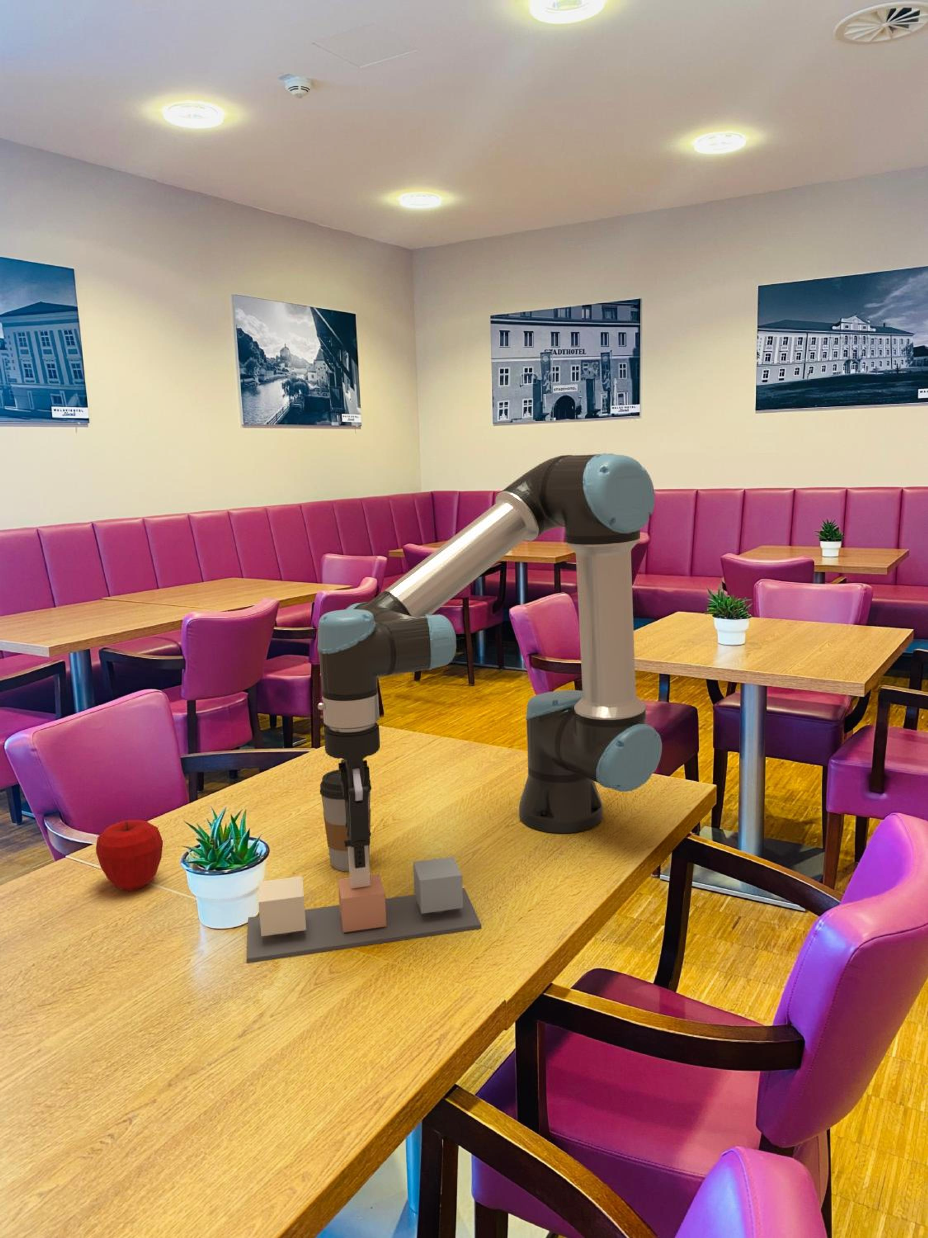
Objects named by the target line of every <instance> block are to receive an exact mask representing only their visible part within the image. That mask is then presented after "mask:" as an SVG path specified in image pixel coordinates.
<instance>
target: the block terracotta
mask: <svg viewBox="0 0 928 1238" xmlns="http://www.w3.org/2000/svg"><path fill="white" fill-rule="evenodd" d="M337 884H338V885H337V888H338V902H339V903H338V905H339V906H340V915H341V921H342V927H343V932H350V931H357V930H364V929H371V928H378V927H385V926H386V907H385V899H386V892H385V889H384V886H383V882H382V878H381V874H380V873H373V874H370V886H366V887H359V888H351V886H350V877H344V878H337Z"/></svg>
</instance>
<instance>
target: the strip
mask: <svg viewBox="0 0 928 1238" xmlns="http://www.w3.org/2000/svg"><path fill="white" fill-rule="evenodd" d="M462 890H463V908H458V909H451V910H444V911H437V912H430V913H423V914H421V911H420V908H419V905H418V902H417V899H416V896H415V894H409V895H403V896H394V897H388V898H386V897H385V907H386V926H385V927H378V928H371V929H364V930H357V931H350V932H343V927H342V921H341V915H340V906H339V904H337V905H329V906H321V907H314V908H305V920H306V930H303V931H296V932H289V933H282V934H274V935H267V936H261V927H260V915H257V916H255V915H254V916H250V917H248V918H247V936H246V937H247V940H246V941H247V942H246V944H247V945H246V963H247V964H250V963H253V962H262V961H263V962H264V961H269V960H276V959H282V958H288V957H289V958H290V957H296V956H303V955H309V954H316V953H323V952H329V951H336V950H344V949H349V948H357V947H363V946H370V945H377V944H383V943H391V942H398V941H405V940H411V939H417V938H418V939H419V938H424V937H432V936H438V935H447V934H452V933H458V932H459V933H460V932H465V931H471V930H479V929H482V923H481V921H480V918H479V917H478V914H477V913H476V910H475V908H474V906H473V904H472V901H471V899H470V896H469V895H468V893H467V891H466V888H465V887H462Z"/></svg>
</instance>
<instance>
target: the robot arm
mask: <svg viewBox="0 0 928 1238" xmlns="http://www.w3.org/2000/svg"><path fill="white" fill-rule="evenodd" d="M655 493H656V492H655V487H654V484H653V480H652V478H651V476H650V474H649V473H648V471H647V469H646V467H644V466H643V465H641V464H640V462H639V461H638V460H637V459H634V458H633V457H632V456H628V455H624V454H615V453H606V452H604V453H598V454H597V453H596V454H581V455H580V454H579V455H577V454H563V455H559V456H554V457H551V458H549V459H546V460H544V461H543V462H542V463H539V464H538V465H535V467H533V468H531V469H530V470H528V471H526V473H524V474H522V475H521V476H520V477H518V478H517V479H516V480H514V481H512V483H510V484H509V485H508V486H506V487H505V488H504V489H502V490H501V491H500V492H499V493H498V494H497V495H496V497H495V504H494V505H492V506H491V507H489V508H488V509H487V510H486V511H484V512H483V513H482V514H481V515H480V516H478V517H477V518H475V519H474V520H473V521H472V522H471V523H469V524H467V526H465V527H464V528H463V529H461V530H460V531H459V532H457V534H455V535H453V536H452V537H451V538H450V539H449V540H448V541H446V542H445V543H444V544H442V545H441V546H440V547H439V548H437V549H435V551H433V552H431V554H429V555H428V556H427V557H425V559H423V560H422V561H421V562H420V563H418V564H417V565H416V566H414V567H413V568H412V569H410V570H409V571H408V572H407V573H405V574H404V575H403V576H401V577H400V578H399V579H398V580H396V581H395V582H394V583H393V584H391V585H390V586H389V587H387V588H386V589H385V590H383V591H382V592H381V593H380V594H378V595H377V596H376V597H375V598H373V599H371V600H370V601H369V602H366V601H364V602H357V603H354V604H351V605H349V606H348V607H347V608H346V609H340V610H337V609H336V610H333V611H332V610H331V611H329V612H326V613H324V614H322V616H321V617H320V618H319V620H318V626H317V627H318V630H317V652H318V659H319V660H318V661H319V670H320V671H319V672H320V683H321V700H322V702H319V703H318V704H317V709H318V710H320V711H322V715H323V716H322V717H323V723H324V725H325V727H324V728H323V736H324V737H323V738H324V739H323V740H324V741H323V742H324V752H325V753H326V754H327V756H329V757H331V758H333V759H337V760H340V759H341V760H340V762H338V763H337V764H338V765H337V766H338V767H337V768H338V770H339V774H340V778H341V787H342V792H343V796H344V800H345V814H346V823H345V826H346V828H347V829H348V832H347V836H348V839H349V840H347V841H344V846H345V847H348V856H349V871H348V872H349V878H350V886H351V888H359V887H366V886H370V875H371V873H370V872H371V871H370V856H369V851H368V845H369V843H370V844H371V838H370V839H369V836H370V837H372V832H371V829H370V830H369V822H368V797H369V787H368V780H369V779H370V778H371V777H370V776H371V774H370V765H369V766H368V761H367V759H365V758H367V757H368V756H369V757H371V756H373V755H375V754H376V753H377V752H379V751H380V748H381V738H380V736H381V735H380V725H379V724H378V723H377V722H378V721H380V720H379V719H380V709H379V707H380V705H379V693H378V692H379V691H378V678H383V677H389V676H394V675H400V674H407V673H413V672H414V673H415V672H419V671H421V672H422V671H427V670H428V671H431V670H433V669H436V668H440V667H444V666H446V665H449V664H450V663H451V662H452V661H453V659H454V657H455V656H456V651H457V636H456V632H455V629H454V625H453V624H452V623H451V621H450V620H449V619H448V618H447V616H445V615H443V614H434V613H435V612H436V611H437V610H439V609H440V608H441V607H442V606H444V605H445V604H446V603H448V601H450V600H451V599H452V598H454V597H455V596H456V595H458V593H460V592H461V591H462V590H463V589H465V588H466V587H467V586H468V585H470V584H471V583H473V581H475V580H476V579H477V578H478V577H480V576H481V575H482V574H484V573H485V572H486V571H487V570H489V569H490V568H491V567H492V566H493V565H494V564H496V563H497V562H498V561H500V560H501V559H502V558H503V557H505V556H506V555H507V554H508V553H510V551H512V550H513V549H514V548H516V547H517V546H519V544H521V543H522V542H523V541H527V542H532V541H534V540H536V539H537V538H538V537H539V536H541V535H542V534H543V533H545V532H547V531H550V530H553V529H556V528H562V527H563V528H564V534H565V535H564V536H565V537H564V538H565V545H567V546H568V547H569V548H570V549H571V550H572V552H574V553H575V559H576V560H575V561H576V562H575V563H576V582H577V584H576V585H577V600H578V601H577V603H578V606H577V607H578V623H579V625H578V626H579V644H580V647H579V648H580V664H581V669H580V670H581V685H582V686H581V689H582V690H579V689H578V690H575V689H574V690H570V689H568V690H566V689H565V690H556V691H555V690H554V691H548V692H547V691H546V692H543V693H538V694H537V695H534V696H532V697H531V698H529V700H528V701H527V706H526V716H525V720H526V740H527V741H526V743H527V778H526V781H525V784H524V787H523V791H522V794H521V797H520V800H519V803H518V817H519V820H520V821H521V822H522V824H523V825H525V826H527V827H529V828H532V829H534V830H536V831H541V832H545V833H546V832H547V833H553V834H554V833H555V834H561V833H562V834H567V833H568V834H569V833H570V834H571V833H578V832H583V831H587V830H589V829H592V828H595V827H597V826H598V825H599V824H600V823H602V820H603V817H604V815H603V810H604V808H603V807H604V806H603V802H602V799H601V796H600V793H599V790H598V788H597V787H598V786H597V784H599V785H600V786H601V787H603V788H606V789H612V790H613V791H614V790H615V791H617V792H621V793H622V792H623V793H624V792H625V793H626V792H632V791H634V790H637V789H639V788H640V787H642V786H643V785H645V784H646V783H647V782H648V781H649V779H651V777H652V775H653V774H654V773H655V772H656V770H657V768H658V766H659V764H660V760H661V757H662V754H663V753H662V751H663V743H662V739H661V738H662V737H661V735H660V733H658V732H657V731H656V729H655V728H654V727H653V726H652V725H649V724H647V712H646V710H647V709H646V703H645V702H644V701H643V700H642V699H641V698H639V697H638V696H637V694H636V688H637V687H636V665H635V639H634V638H635V637H634V636H635V634H634V633H635V631H634V614H633V613H634V608H633V607H634V604H633V581H632V580H633V579H632V577H633V576H632V574H633V573H632V549H634V547H635V546H636V545H637V544H638V543H639V542H640V541H641V529H642V528H643V527H644V526H645V525H646V524H647V523H648V522H649V521H650V517H649V516H650V515H652V514H653V512H654V508H655V502H656V501H655V500H656V496H655V495H656V494H655ZM370 780H371V779H370ZM596 783H597V784H596Z"/></svg>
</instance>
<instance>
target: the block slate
mask: <svg viewBox="0 0 928 1238" xmlns="http://www.w3.org/2000/svg"><path fill="white" fill-rule="evenodd" d="M412 864H413V865H412V869H413V870H412V871H413V890H414V891H413V892H414V895H415V896H416V899H417V902H418V905H419V908H420V911H421V914H423V913H430V912H437V911H444V910H451V909H458V908H463V890H462V888H463V874H462V872H461V870H460V868H459V865H458V863H457V861H456V860H455V857H454V856H448V857H440V858H433V859H424V860H417V861H413V862H412Z"/></svg>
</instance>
